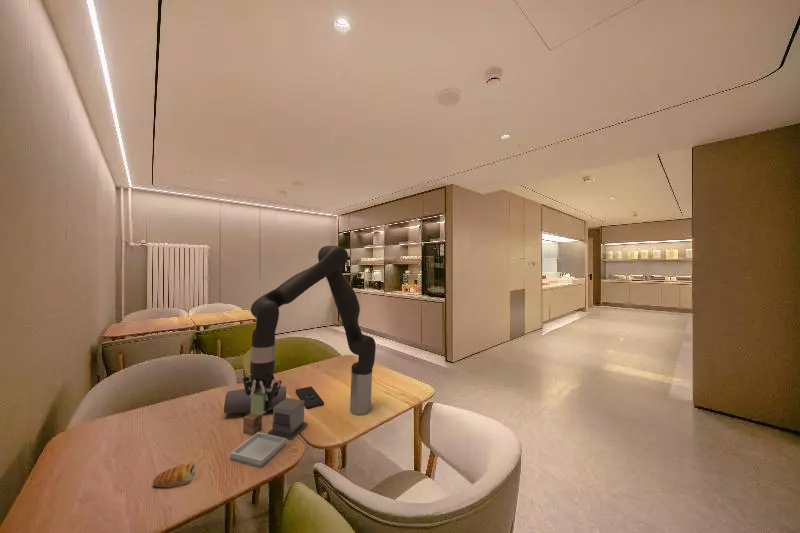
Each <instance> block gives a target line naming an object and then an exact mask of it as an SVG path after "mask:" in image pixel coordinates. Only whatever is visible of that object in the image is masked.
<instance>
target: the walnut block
mask: <svg viewBox="0 0 800 533" xmlns="http://www.w3.org/2000/svg"><path fill="white" fill-rule="evenodd" d="M262 427H263V414H262V415H260V414H255V413H250V414H246V415H245V416H243V428H242V434H244V435H249V436H251V437H252V436H253V435H255V434H256V433H257V432H260V431H261V430H262V429H263V428H262Z"/></svg>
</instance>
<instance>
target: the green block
mask: <svg viewBox="0 0 800 533" xmlns="http://www.w3.org/2000/svg"><path fill="white" fill-rule="evenodd" d="M268 396H269V393H268ZM264 405H265V395H264V394H262V390H261V389H260V390H259V391H257V392H255V393H253V394H251V413H255V414H260V415H262V416H263V415H264V414H265V413H267V412H266V411H264ZM270 410H272V409H271V408H270Z"/></svg>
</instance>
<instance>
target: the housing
mask: <svg viewBox="0 0 800 533" xmlns="http://www.w3.org/2000/svg"><path fill="white" fill-rule="evenodd" d="M304 404H305V401H302V400H300V399H296V398H290V397H286V399H284V400H283V401H281V402H280V403H279V404H277V405H276V406H274V407H273V409H272V428H271V429H270V430H268V431H267V434H269V435H273V436H278V437H282V438H286V440H291V441H292V440H293V439H294V438H296V437H297V435H299V434H300V433H301V432H302V431H303V430H304V429H305V428H306V427H308V422H305V406H304Z"/></svg>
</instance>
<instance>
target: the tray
mask: <svg viewBox="0 0 800 533" xmlns="http://www.w3.org/2000/svg"><path fill="white" fill-rule="evenodd" d="M285 446H287V439H286V438H282V437H278V436H273V435H269V434H268V433H265V432H260V431H258V432H257V433H256V434H254V435H253V436H252V435H251V436H250V437H249V438H248V439H246V440H245V441H244V442H243V443H241V444H240V445H239V446H237V447H236V448H234V449H233V450H232V451H231V452H230V453H229V454H230V455H229V460H230V461H233V462H236V463H241V464H245V465H248V466H252V467H256V468H259V469H262V468H264V466H265V465H267V463H269V462H270V461H271V459H273V458H274V457H275V456H276V455H277V454H278V453H279V452H280V451H282V449H284V448H285Z"/></svg>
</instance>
